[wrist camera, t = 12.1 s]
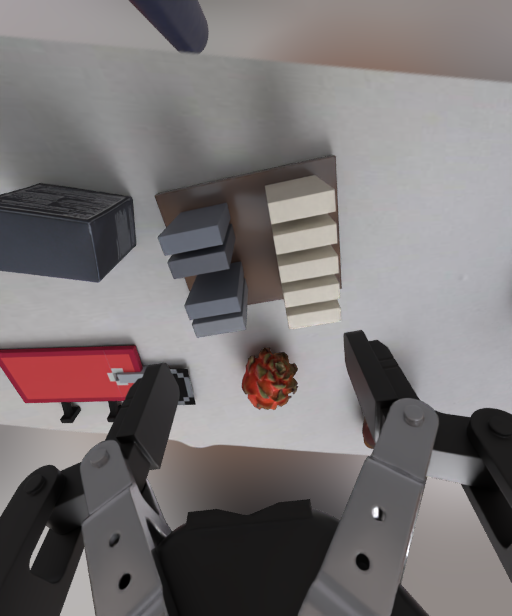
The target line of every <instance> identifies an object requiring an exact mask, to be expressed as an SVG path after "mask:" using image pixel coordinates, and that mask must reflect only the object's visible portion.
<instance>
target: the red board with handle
mask: <svg viewBox="0 0 512 616" xmlns="http://www.w3.org/2000/svg"><path fill="white" fill-rule="evenodd" d="M0 367H1V368H2V370H3V371H4V373H5V374H6V376H7V377H8V379H9V380H10V382H11V383H12V384H13V386H14V387H15V389H16V390H17V392H18V393H19V395H20V396H21V398H22V399H23V401H24V402H25V403H49V402H61V404H62V408H63V411H64V415H63V416H62V418H61V419H60V420H61V422H62V423H73V421H74V420H75V418H76V417H77V415H78V414H79V412H80V411H81V409H80V407H72V406H71V402H94V401H108V403H109V408H110V414H109V416H108V418H107V420H108V422H114V420H115V418H116V416H117V414H118V412H119V410H120V409H121V406H118V405H117V401H124V400H125V397H126V395H127V393H128V391H129V389H130V387H131V386H132V385H133V384H134V383H135V382H136V380H137V379H138V378H142V376H143V374H144V372H145V369H146V367H147V366H142V364H141V361H140V358H139V355H138V352H137V349H136V346H102V347H69V348H35V349H2V350H0ZM170 371H171V373H172V374H173V376H174V378H175V380H176V382H177V384H178V386H179V392H180V396H179V401H178V405H196V404H195V400H194V395H193V391H192V387H191V382H190V378H189V374H188V369H170ZM117 373H118V374H117Z"/></svg>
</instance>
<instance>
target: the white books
mask: <svg viewBox="0 0 512 616" xmlns="http://www.w3.org/2000/svg"><path fill="white" fill-rule="evenodd" d="M265 190H266V196H267V203H268V209H269V214H270V220H271V226H272V232H273V238H274V244H275V249H276V254H277V255H278V254H283V253H289V252H294V251H299V250H304V249H310V248H315V247H320V246H326V245H331V244H336V243H337V224H336V223H335V222H334V220H333V219H332V218H331V217H330V216H329V215H328V214H327V213H331V212H335V211H336V205H335V190H334V189H333V188H332V187H331V186H329V185H328V184H326V183H325V182H324V181H322V180H321V179H320V178H318V177H317V176H316V175H312V176H308V177H303V178H298V179H294V180H289V181H284V182H280V183H275V184H270V185H266V186H265ZM281 284H282V290H283V296H284V302H285V308H286V314H287V320H288V325H289V329H290V330H291V329H297V328H303V327H309V326H316V325H322V324H328V323H334V322H341V307H340V305H339V303H338V301H337V299H340V285H339V282H338V280H337V278H336V276H335V275H334V274H331V275H325V276H319V277H314V278H308V279H302V280H297V281H291V282H285V283H281Z"/></svg>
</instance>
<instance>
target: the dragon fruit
mask: <svg viewBox="0 0 512 616" xmlns="http://www.w3.org/2000/svg"><path fill="white" fill-rule="evenodd" d="M297 370H298V368H297V366H296V364H295V363H293V364H290V363H289V359H288V355H287V354H286V353H285V352H281V353H274V354H272V352H271V351H270V348H265V347H264V348H263V349H262V350H261V351H260V353H259V357H258V358H255V356H250V358H248V363H247V365H246V373H245V375H244V377H243V380H242V389H243V391H244V393H245V394H248V399H249V400H250V401H251V403H252V404H253V405H254V407H256V408H258V409H259V410H260V409H261V408H264V409H267V410H268V409H273V410H275V409H276V408H277V405H279V406H283V405H285V404H286V403H287V402H288V400H289V398H291V396H288V394H289V393H291V392H293V394H295V393H296V391H297V388H298V386H297V384H298V383H297V381H296V380H295V379H294V378H293V377H294V375H295V374H296V372H297Z"/></svg>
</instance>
